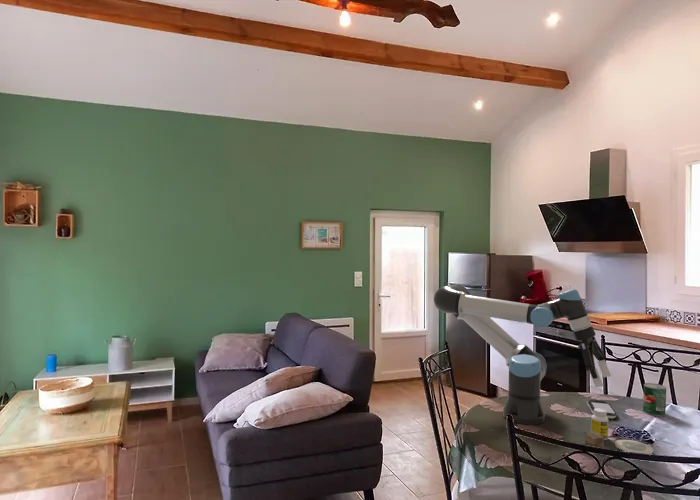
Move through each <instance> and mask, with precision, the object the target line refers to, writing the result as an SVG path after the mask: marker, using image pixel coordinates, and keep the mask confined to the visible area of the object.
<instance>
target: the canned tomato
mask: <svg viewBox="0 0 700 500" xmlns="http://www.w3.org/2000/svg"><path fill="white" fill-rule="evenodd" d="M642 394H643V397H642V400H643V401H642V404H643V405H642V412H643V413H645V414H646V415H651V416H655V417H664V416H666V415H665V414H666V410H667V409H666V405H667V386H665V385H663V384H658V383H654V382H653V383H652V382H647V383H644V384H643V393H642Z"/></svg>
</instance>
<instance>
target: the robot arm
mask: <svg viewBox="0 0 700 500" xmlns="http://www.w3.org/2000/svg"><path fill="white" fill-rule="evenodd" d="M433 303H434V306H435V308H436V309H437V310H438V311H440V312H441V313H444V314H451V315H453V316H454V317H455V318H456V319H457V320H462V321H464V322H465V324H467V325H468V326H469V327H470V328H471V329H473V330H474V332H476V334H478V335H479V336H480V337H481V338H482V339H483V340H484V341H485V342H486V343H487V344H488V345H490V346H491V347H492V348H493V349H494V350H495V351H496V352H497V353H498V354H499V355H501V356H502V357H503V359H504V360H505V365H506V366H507V367H508V388H507V389H508V393H507V394H508V395H507V399H506V400H505V404H504V406H503V409H502V411H503V412H502V415H503V417H504V418H505V417H506V415H507V414H511V415H512V416H513V419H514V422H513V423H516V424H519V425H520V424H521V425H530V426H531V425H532V426H533V425H541V424H543V423H544V422H545V412H544V410H543V408H544V407H543V406H542V402H541V381H542V379H543V378H544V377H545V376H546V375H547V369H548V365H547V362H546V359H545V357H544V356H543V355H542V354H540V353H538V352H536V351H535V350H534V351H533V350H532V349H531V348H530V347H529V346H528V345H527V344H520V343H519V342H518V341H517V340H515V338H513V337H512V336H511V335H510V334H509V333H508V332H507V331H505V329H504V328H503V327H501V326H500V325H499V324H498V323H497V322H495V320H493V319H500V320H507V321H511V322H519V323H525V324H529V325H535V326H536V327H538V328H545V327H548V326H549V325H551V324H552V323H553V321H557V320H559V319H562V318H563V319H564V318H567V322H568V324H569V327H570V330H571V331H573V332H572V334H573V336H574V338H575V341H581V343H580V344H579V348H580V350H581V354H582V357H583V362H584V367H585V371H586V372H589V374H590V378H591V379H592V382H593V384H594V387H595V388H600V387H604V384H603V381H602V377H603V378H608V377H609V378H610V377H612V375H611V371H610V370H609V367H608V364H607V362H606V360H607V356H606V355H605V352H604V351H603V349H602V348H601V346H600V345H599V343H598V342H597V339H596V337H595V336H596V331H595V329H594V327H593V326H592V322H591V319H592V318H591V317H590V316H589V315H588V312H587V310H586V306H585V303H584V302H583V299H582V298H581V296H580V293H579V291H578V290H577V289H574V288H572V289H569V290H566V291H563V292H560V293H558V299H554V300H551V301H547V302H543V303H540V304H530V303H524V302H518V301H512V300H511V301H510V300H504V299H498V298H497V299H496V298H489V297H485V296H477V295H471V292H470V291H469V290H468V288H467V287H465V286H464V285H462V284H459V283H451V284H448V285H444V286H442V287H439V288H438V289H437V290H436V291H435V293H434V296H433ZM594 357H595V358H594ZM595 359H596V360H597V365H598V366H599V369H600V372H601V374H602V377H601V376H600V373H599V371H598V368H596V363H595Z"/></svg>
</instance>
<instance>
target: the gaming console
mask: <svg viewBox="0 0 700 500" xmlns="http://www.w3.org/2000/svg"><path fill="white" fill-rule="evenodd" d="M586 404H587V407H588V408H589V410H590V411H591V413H592V415H594V409H595V408H600V409H604V410H606V411H607V415H606V417H607V418H608V420H616V419H618V413H617V411H616V409H614V407H613V406H612V404H611V403H608V402H607V401H605V400H604V401H603V400H598V399H589V400H587V401H586Z"/></svg>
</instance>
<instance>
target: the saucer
mask: <svg viewBox="0 0 700 500" xmlns="http://www.w3.org/2000/svg"><path fill="white" fill-rule="evenodd" d="M614 446H615V447H616V449H618V448H619V449H622V450H624V451H630V452H636V453H647V454H652V453H653V454H654V448H653V447H652V446H650V445H649V444H646V443H645V442H642V441H638V440H633V439H617V440H616V441H615V442H614ZM619 449H618V450H619ZM653 454H652V455H653Z"/></svg>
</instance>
